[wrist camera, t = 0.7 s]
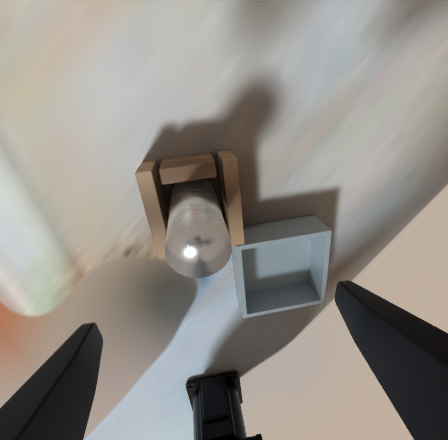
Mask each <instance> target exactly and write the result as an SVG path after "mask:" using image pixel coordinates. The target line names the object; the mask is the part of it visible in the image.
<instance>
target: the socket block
mask: <svg viewBox="0 0 448 440" xmlns="http://www.w3.org/2000/svg"><path fill="white" fill-rule="evenodd" d="M217 156H218V164H219V173H220V182H221V190H222V199H223V207H224V216H225V224H226V228H227V231H228V234H229V237H230V240H231V244H232V246H236V245H242V244H245V243H244V231H243V219H242V207H241V194H240V182H239V170H238V159H237V157H236V156H235V155H234V154H233V153H232V152H231V151H230V150H227V151H220V152H217ZM159 172H160V177H161V181H162V185H164V184H171V183H177V182H184V181H191V180H198V179H205V178H212V177H217V175H216V167H215V161H214V159H213V157H212V155H211V153H205V154H198V155H191V156H184V157H176V158H169V159H162V162H161V165H160V168H159ZM159 172H158V168H157V164H156V160H155V161H147V162H142V163H141V165H140V166H139V168H138V169H137V171H136V172H135V175H136V179H137V182H138V186H139V190H140V193H141V197H142V201H143V204H144V208H145V212H146V215H147V219H148V223H149V226H150V230H151V233H152V237H153V241H154V244H155V248H156V252H157V255H158V259H160V258H165V243H166V235H167V227H168V220H169V216H168V212H167V207H166V203H165V198H164V194H163V190H162V185H161V181H160V177H159Z"/></svg>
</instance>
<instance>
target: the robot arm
mask: <svg viewBox="0 0 448 440" xmlns="http://www.w3.org/2000/svg"><path fill="white" fill-rule="evenodd" d="M335 302H336V305H337V307H338V309H339V310H340V313H341V315H342V317H343V319H344V321H345V323H346V325H347V327H348V329H349V332H350V334H351V336H352V338H353V340H354V341H355V343H356V345H357V347H358V348H359V350H360V351H361V353H362V355H363V356H364V358H365V360H366V361H367V363H368V365H369V366H370V368H371V370H372V371H373V373H374V374H375V376H376V378H377V379H378V381H379V383H380V384H381V386H382V388H383V389H384V391H385V392H386V394H387V396H388V397H389V399H390V401H391V402H392V404H393V406H394V407H395V409H396V411H397V412H398V414H399V416H400V417H401V419H402V420H403V422H404V424H405V425H406V427H407V429H408V430H409V432H410V433H411V435H412V437H413V438H414V440H448V333H446V332H444V331H442V330H441V329H439V328H437V327H435V326H433V325H431V324H429V323H428V322H426V321H424V320H422V319H420V318H418V317H416V316H415V315H413V314H411V313H409V312H407V311H405V310H404V309H402V308H400V307H398V306H396V305H394V304H392V303H390V302H389V301H387V300H385V299H383V298H381V297H379V296H377V295H375V294H374V293H371V292H370V291H368V290H366V289H364V288H363V287H361V286H359V285H357V284H355V283H353V282H352V281H349V280H346V281H340V282H338V283H337V287H336V293H335ZM102 347H103V338H102V335H101V333H100V331H99V329H98V327H97V325H96V323H86V324H82V325H81V326H80V327H79V328H78V329H77V330H76V331H75V332H74V333H73V334H72V335H71V336H70V337H69V338H68V339H67V340H66V341H65V342H64V343H63V344H62V346H60V347H59V348H58V349H57V351H55V352H54V354H53V355H52V356H51V357H50V358H49V359H48V360H47V361H46V362H45V363H44V364H43V365H42V366H41V367H40V368H39V369H38V370H37V371H36V372H35V373H34V374H33V375H32V376H31V377H30V378H29V379H28V380H27V381H26V382H25V383H24V384H23V385H22V386H21V387H20V389H19V390H18V391H17V392H16V393H15V394H14V395H13V396H12V397H11V398H10V399H9V400H8V401H7V402H6V403H5V404H4V405H3V406H2V407H1V408H0V440H83V438H84V434H85V430H86V426H87V422H88V418H89V414H90V411H91V407H92V403H93V399H94V395H95V390H96V385H97V379H98V373H99V366H100V360H101V353H102ZM186 389H187V393H188V396H189V399H190V403H191V406H192V410H193V423H194V440H262V436H261V434H257V435H256V436H252V437H246V432H245V426H244V421H243V415H242V410H241V403H242V402H243V401H242V394H241V386H240V378H239V373H238V372H237V371H234V372H229V373H225V374H220V375H215V376H211V377H206V378H201V379H196V380H192V381H188V382H187V383H186Z"/></svg>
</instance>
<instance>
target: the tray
mask: <svg viewBox="0 0 448 440" xmlns="http://www.w3.org/2000/svg"><path fill="white" fill-rule="evenodd" d="M243 231H244V243H245V244H242V245H236V246H232V256H233V265H234V275H235V284H236V293H237V298H238V302H239V305H240V309H241V313H242V317H243V318H248V317H253V316H259V315H264V314H269V313H274V312H279V311H284V310H289V309H295V308H300V307H305V306H310V305H315V304H320V303H325V293H326V283H327V274H328V264H329V254H330V244H331V235H332V230H331V229H330V228H329V227H328V226H327V225H325V224H324V223H323V222H322V221H321V220H320V219H319V218H318V217H316V216H315V215H309V216H303V217H297V218H291V219H285V220H279V221H272V222H266V223H260V224H254V225H248V226H243Z"/></svg>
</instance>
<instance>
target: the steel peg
mask: <svg viewBox="0 0 448 440" xmlns="http://www.w3.org/2000/svg"><path fill="white" fill-rule="evenodd" d="M231 253H232V244H231V240H230V237H229V234H228V231H227V228H226V224H225V221H224V218H223V215H222V212H221V209H220V206H219V203H218V200H217V197H216V194H215V191H214V188H213V186H212V185H211V183H210V182H209V181H207V180H206V179H198V180H191V181H184V182H177V183H176V185H175V186H174V188H173V191H172V196H171V204H170V212H169V220H168V227H167V235H166V243H165V257H166V260H167V262H168V264H169V265H170V266H171V267H172V268H173V269H174V270H175V271H176V272H178V273H180V274H181V275H184V276H187V277H193V278H201V277H206V276H210V275H212V274H215V273H216V272H218V271H219V270H221V269H222V268H223V267H224V266H225V265H226V264H227V262H228V261H229V259H230V256H231Z"/></svg>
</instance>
